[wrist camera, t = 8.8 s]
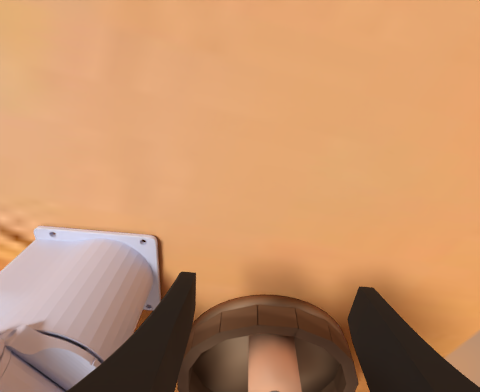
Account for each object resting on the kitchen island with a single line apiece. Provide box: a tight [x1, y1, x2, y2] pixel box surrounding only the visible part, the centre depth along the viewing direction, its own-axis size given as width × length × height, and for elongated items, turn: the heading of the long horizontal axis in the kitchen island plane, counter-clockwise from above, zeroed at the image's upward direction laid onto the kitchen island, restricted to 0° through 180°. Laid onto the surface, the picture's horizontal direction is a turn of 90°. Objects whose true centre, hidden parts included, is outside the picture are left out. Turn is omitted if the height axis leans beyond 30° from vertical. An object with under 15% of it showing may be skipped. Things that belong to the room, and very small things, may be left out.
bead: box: [248, 334, 302, 392], centre depth 24 cm, size 4×4×5 cm
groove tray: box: [177, 295, 358, 392], centre depth 28 cm, size 16×16×3 cm
